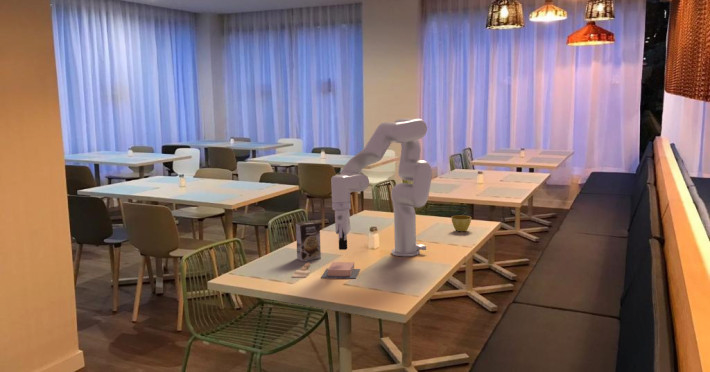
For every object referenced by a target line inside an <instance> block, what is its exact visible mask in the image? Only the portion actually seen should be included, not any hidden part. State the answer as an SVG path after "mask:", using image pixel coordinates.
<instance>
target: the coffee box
mask: <svg viewBox="0 0 710 372" xmlns="http://www.w3.org/2000/svg"><path fill="white" fill-rule="evenodd" d="M320 227H321V226H320V222H318V221H315V220H312V221H303V222H295V231H296V233H295V234H296V237H295V238H296V258H297V260H300V261H301V262H307V261H314V260H320V259H321V258H322V253H321V228H320ZM313 259H314V260H313Z"/></svg>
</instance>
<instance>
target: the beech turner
mask: <svg viewBox="0 0 710 372" xmlns="http://www.w3.org/2000/svg"><path fill="white" fill-rule="evenodd" d="M310 266H311V263H310V262H305V264H304V265H303V266H302V268H301V269H296V270H295V271H294V272H293V274H292V275H291V278H297V279H298V278H301V279H303V278H304V279H305V278H306V279H307V277H308V276H309V274H310V273H311V270H308V269H309V268H310Z"/></svg>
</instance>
